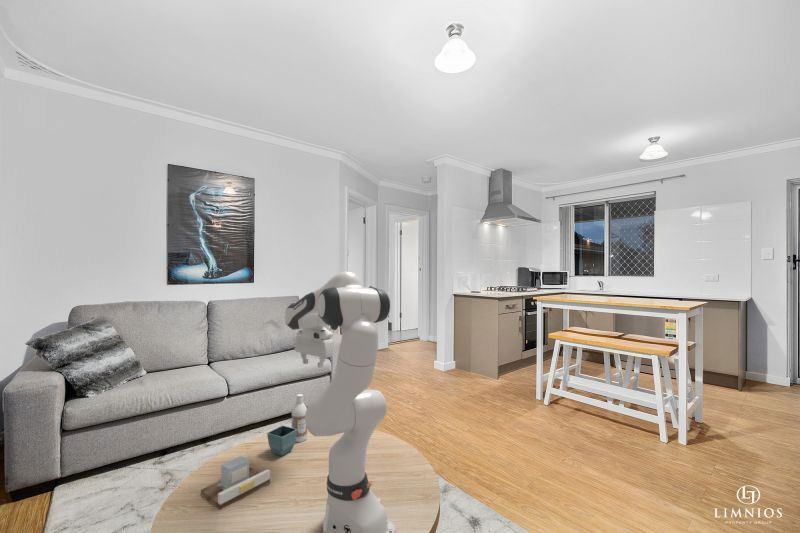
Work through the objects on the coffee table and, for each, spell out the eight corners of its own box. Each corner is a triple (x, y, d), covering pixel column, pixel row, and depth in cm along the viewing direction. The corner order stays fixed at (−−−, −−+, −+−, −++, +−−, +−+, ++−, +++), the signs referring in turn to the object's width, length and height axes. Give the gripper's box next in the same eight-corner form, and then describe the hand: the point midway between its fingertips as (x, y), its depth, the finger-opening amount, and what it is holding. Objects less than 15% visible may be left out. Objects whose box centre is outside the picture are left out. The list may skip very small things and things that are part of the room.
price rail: (271, 479, 129) (271, 471, 129) (221, 505, 114) (221, 495, 114) (267, 477, 130) (267, 469, 130) (217, 502, 116) (217, 493, 116)
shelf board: (270, 483, 129) (270, 478, 129) (220, 509, 115) (220, 504, 115) (249, 471, 137) (250, 466, 137) (200, 494, 122) (200, 489, 122)
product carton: (249, 480, 128) (249, 460, 128) (228, 490, 122) (229, 469, 122) (241, 475, 131) (241, 455, 131) (221, 484, 125) (221, 464, 125)
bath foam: (294, 444, 158) (294, 398, 159) (289, 438, 164) (289, 394, 164) (309, 440, 162) (309, 395, 162) (304, 434, 168) (304, 391, 168)
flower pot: (266, 454, 149) (266, 432, 149) (282, 445, 157) (282, 424, 157) (281, 459, 145) (281, 437, 145) (297, 450, 153) (297, 429, 153)
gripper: (291, 330, 153) (290, 362, 153) (323, 335, 141) (323, 371, 141) (303, 328, 158) (302, 360, 158) (335, 333, 146) (335, 367, 146)
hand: (312, 365), depth 149 cm, fingers open, 8 cm apart
